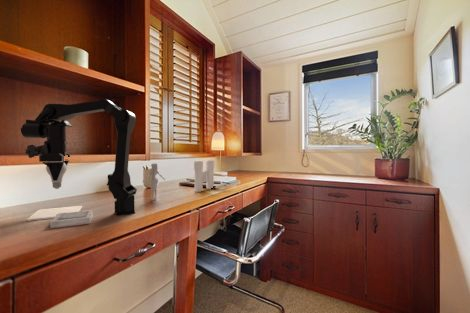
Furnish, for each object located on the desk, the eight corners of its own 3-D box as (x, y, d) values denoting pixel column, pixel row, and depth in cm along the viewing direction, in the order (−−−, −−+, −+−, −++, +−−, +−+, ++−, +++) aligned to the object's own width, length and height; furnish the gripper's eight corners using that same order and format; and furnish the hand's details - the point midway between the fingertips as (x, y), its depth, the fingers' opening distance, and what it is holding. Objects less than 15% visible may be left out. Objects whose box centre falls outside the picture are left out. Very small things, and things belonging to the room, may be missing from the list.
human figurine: (162, 197, 114) (162, 162, 113) (167, 198, 111) (167, 163, 111) (140, 201, 104) (140, 163, 104) (144, 203, 102) (144, 164, 101)
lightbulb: (44, 188, 84) (44, 159, 84) (64, 186, 89) (64, 159, 88) (48, 190, 80) (48, 160, 80) (69, 188, 85) (68, 160, 84)
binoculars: (209, 187, 147) (209, 160, 146) (215, 188, 144) (216, 160, 143) (192, 191, 132) (192, 161, 131) (199, 192, 129) (199, 161, 128)
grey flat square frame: (93, 215, 83) (93, 209, 83) (90, 223, 74) (90, 217, 74) (58, 219, 78) (58, 213, 78) (50, 228, 69) (50, 222, 69)
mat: (82, 207, 94) (82, 205, 94) (76, 215, 82) (76, 214, 82) (39, 211, 88) (39, 209, 88) (26, 221, 75) (26, 219, 75)
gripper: (36, 138, 88) (37, 177, 89) (18, 136, 72) (19, 184, 72) (70, 139, 93) (71, 176, 94) (61, 137, 77) (61, 182, 78)
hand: (57, 179), depth 84 cm, fingers closed on lightbulb, 5 cm apart
